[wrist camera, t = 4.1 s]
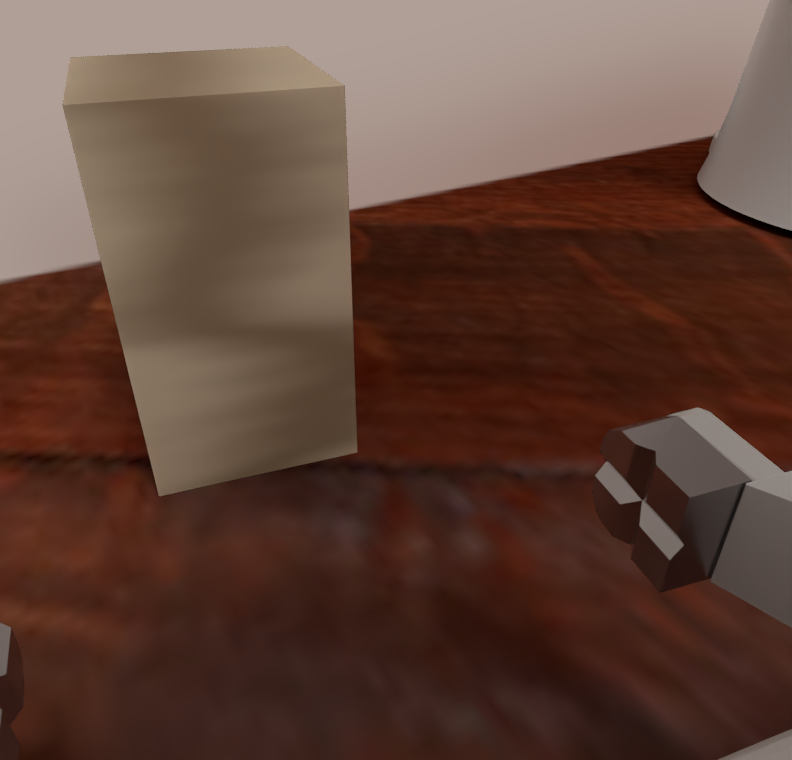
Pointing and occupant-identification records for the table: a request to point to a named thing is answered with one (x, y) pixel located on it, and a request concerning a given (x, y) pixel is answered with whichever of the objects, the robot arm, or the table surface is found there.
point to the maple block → (223, 253)
